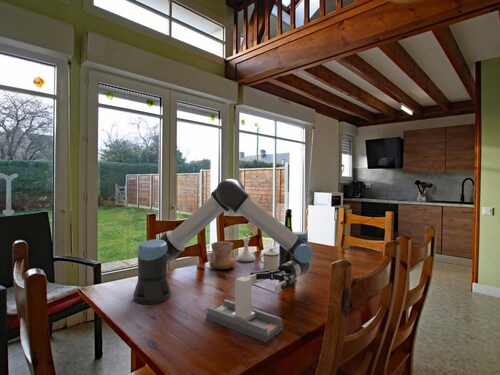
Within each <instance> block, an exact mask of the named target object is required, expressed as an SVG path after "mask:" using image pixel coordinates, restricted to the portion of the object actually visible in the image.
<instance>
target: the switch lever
mask: <svg viewBox="0 0 500 375" xmlns="http://www.w3.org/2000/svg"><path fill="white" fill-rule="evenodd" d="M247 277H248V276H240V277H237V278H235V283H234V284H235V289H234V290H235V294H234V295H235V296H234V298H235V301H234V302H235V312H234V313H232V314H231V315H234V316H236V317H239V318H242V319H245V320H247V321H249V320H251V319H252V318H254V317H255V312H252V311H251V308H252V295H253V294H252V293H253V292H252V285H253V283H252V279H251V278H247Z"/></svg>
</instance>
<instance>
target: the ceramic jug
mask: <svg viewBox="0 0 500 375" xmlns="http://www.w3.org/2000/svg"><path fill="white" fill-rule="evenodd" d="M210 245H211V250H212V251H211V253H210V261H209V266H210V267H211V268H213V269H214V270H219V271H220V270H221V271H225V270H229V269H232V268H233V267H234V266H235V264H236V261H235V259H234V258H233V257H231V253H232V252H233V248H234V247H233V246H234V243H233V242H231V241H215V242H212V243H211V244H210Z"/></svg>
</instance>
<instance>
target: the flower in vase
mask: <svg viewBox="0 0 500 375" xmlns="http://www.w3.org/2000/svg"><path fill="white" fill-rule="evenodd" d="M247 229H248V230H249V231H248V234H245V233H242V234H243V236H244V237H243V238H242V241H243V244H244V247H243V248H244V249H243V251H242V252H240V253H239V254H238V255H237V256H236V259H237V261H240V262H252V261H255V259H256V256H255V255H254V254H253V253H252V252H250V251H249V241H250V240H251V238H250V237H249V236H251V237H254V236H255V233H256V232H257V231H258V229H259V228H258V227H256V226H255V225H254V224H253V223H251V222H250V221H249V220H248V223H247Z"/></svg>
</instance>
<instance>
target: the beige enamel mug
mask: <svg viewBox="0 0 500 375" xmlns="http://www.w3.org/2000/svg"><path fill="white" fill-rule="evenodd" d="M262 257H263V261H262ZM258 260H259V262H260V263H261V264H263V266H262V267H263V270H267V269H271V271H275V270H277V268H278V267H279V266H280V265H279V260H280V253H279V251H276V250H275V249H274V248H272V247H270V248H269V249H268V250H265V251H264V252H263V253H262V254H260V255H259V257H258Z"/></svg>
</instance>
